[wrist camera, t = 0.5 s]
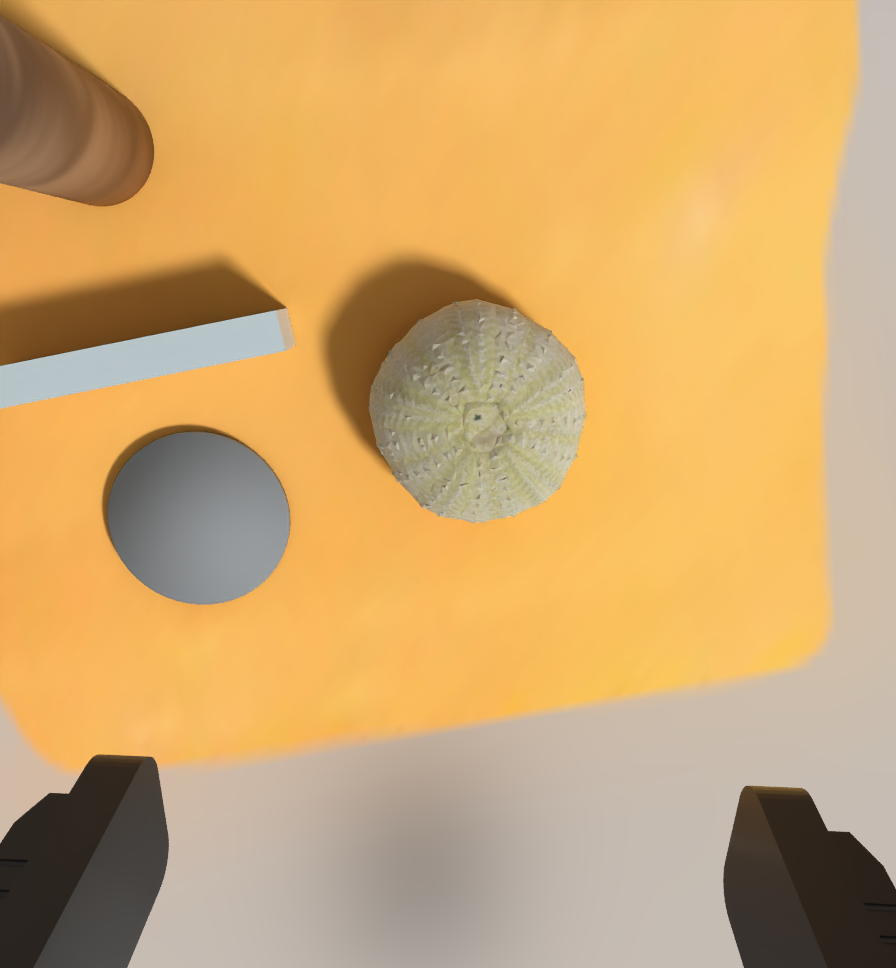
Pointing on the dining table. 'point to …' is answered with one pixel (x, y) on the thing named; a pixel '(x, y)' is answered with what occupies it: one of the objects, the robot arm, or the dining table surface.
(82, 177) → the pepper mill
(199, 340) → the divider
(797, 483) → the dining table surface
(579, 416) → the sea urchin shell
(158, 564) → the gray pad
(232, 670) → the dining table surface
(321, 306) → the dining table surface
